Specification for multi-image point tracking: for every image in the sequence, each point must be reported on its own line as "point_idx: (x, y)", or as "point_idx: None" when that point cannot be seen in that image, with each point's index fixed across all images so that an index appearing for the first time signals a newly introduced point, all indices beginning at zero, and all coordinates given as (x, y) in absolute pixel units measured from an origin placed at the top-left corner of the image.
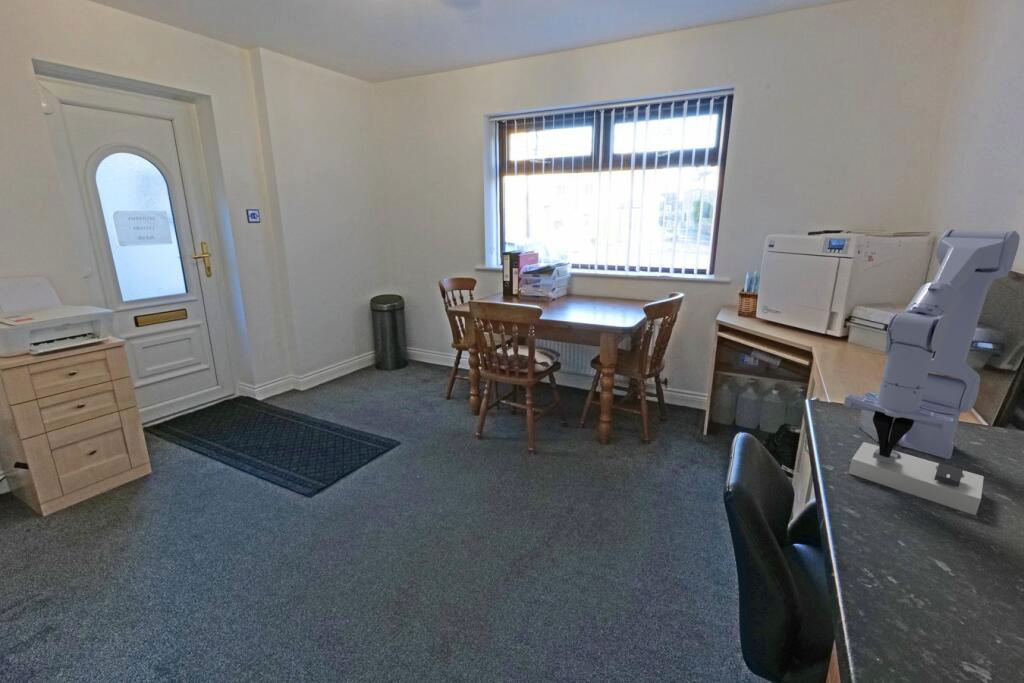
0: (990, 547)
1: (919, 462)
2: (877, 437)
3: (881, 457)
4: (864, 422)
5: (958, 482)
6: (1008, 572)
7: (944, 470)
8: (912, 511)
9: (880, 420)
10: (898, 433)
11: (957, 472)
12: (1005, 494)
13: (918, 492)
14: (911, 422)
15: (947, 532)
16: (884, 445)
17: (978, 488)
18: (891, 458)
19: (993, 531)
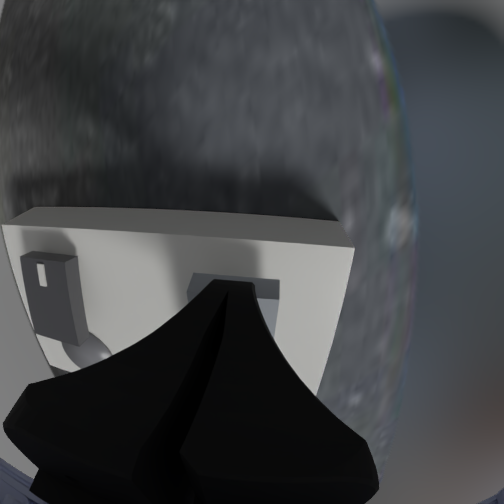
0: (11, 70)
1: None
2: None
3: None
4: None
5: (23, 255)
6: (6, 9)
7: (57, 307)
8: (131, 82)
9: (296, 489)
10: (118, 378)
11: (36, 311)
12: None
13: (127, 213)
14: (45, 483)
15: (64, 46)
16: (231, 310)
17: (23, 290)
18: (201, 289)
19: (9, 154)
